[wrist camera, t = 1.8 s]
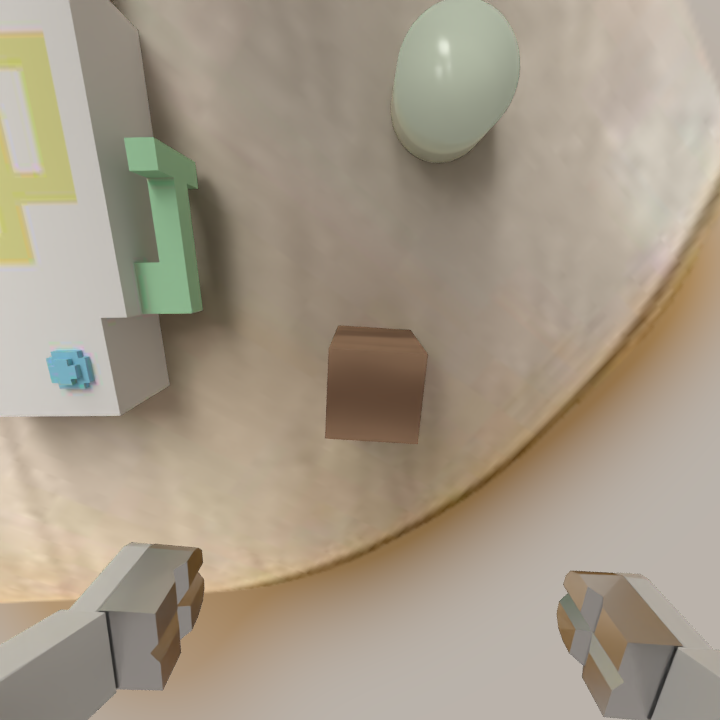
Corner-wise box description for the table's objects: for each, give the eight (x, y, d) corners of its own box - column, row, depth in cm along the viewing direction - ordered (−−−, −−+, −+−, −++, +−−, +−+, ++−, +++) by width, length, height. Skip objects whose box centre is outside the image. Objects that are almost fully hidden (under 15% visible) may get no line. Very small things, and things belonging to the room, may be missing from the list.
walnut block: (338, 325, 25) (328, 348, 18) (410, 330, 25) (427, 354, 18) (335, 393, 26) (324, 438, 19) (403, 397, 26) (417, 444, 19)
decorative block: (187, 420, 20) (-162, 422, 20) (229, 383, 26) (-38, 385, 26) (92, -216, 13) (-428, -199, 13) (179, -62, 19) (-178, -53, 20)
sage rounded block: (395, 44, 20) (402, -8, 17) (499, 51, 20) (530, 1, 17) (386, 159, 22) (391, 137, 18) (483, 166, 22) (508, 145, 18)
